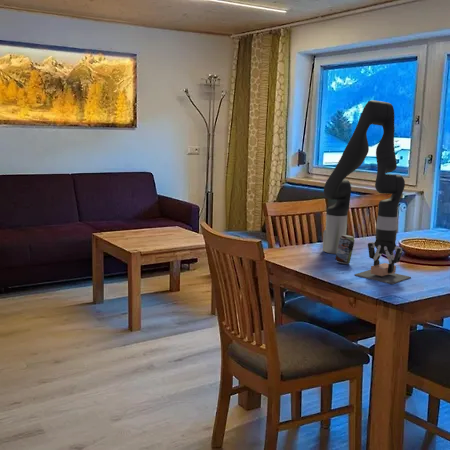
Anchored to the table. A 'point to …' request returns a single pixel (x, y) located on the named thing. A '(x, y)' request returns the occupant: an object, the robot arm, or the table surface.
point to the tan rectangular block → (381, 269)
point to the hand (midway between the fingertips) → (383, 271)
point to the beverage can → (345, 249)
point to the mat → (383, 277)
